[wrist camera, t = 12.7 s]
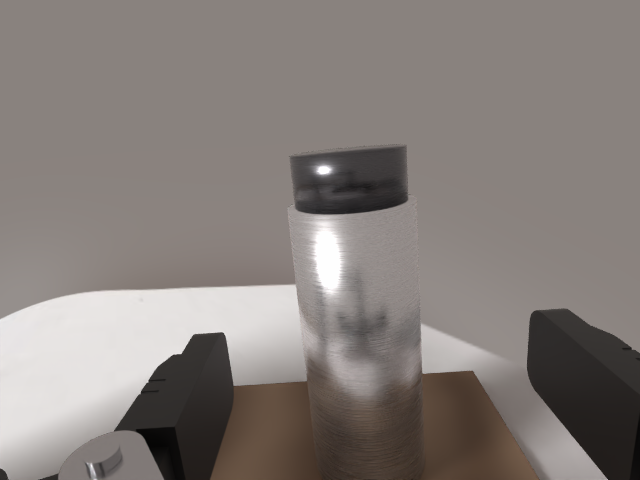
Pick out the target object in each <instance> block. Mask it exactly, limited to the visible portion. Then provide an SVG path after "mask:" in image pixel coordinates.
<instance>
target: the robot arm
mask: <svg viewBox="0 0 640 480" xmlns="http://www.w3.org/2000/svg"><path fill="white" fill-rule="evenodd" d="M527 371H528V376H529V379H530V382H531V384H532V386H533V388H534V390H535V391H536V392H537V393H538V395H539V396H540V397H541V398H542V399H543V401H544V402H545V403H546V404H547V406H548V407H549V408H550V409H551V410H552V412H553V413H554V414H555V415H556V417H557V418H558V419H559V420H560V421H561V423H562V424H563V425H564V426H565V428H566V429H567V430H568V431H569V432H570V434H571V435H572V436H573V437H574V439H575V440H576V441H577V442H578V443H579V445H580V446H581V447H582V448H583V450H584V451H585V452H586V453H587V454H588V456H589V457H590V458H591V459H592V461H593V462H594V463H595V464H596V465H597V467H598V468H599V469H600V470H601V471H602V473H603V474H604V475H605V476H606V478H607V479H608V480H640V353H639V352H637V351H636V350H632V348H631V347H630V346H628V345H627V344H625V343H624V342H623V341H621V340H620V339H618V338H617V337H616V336H614V335H612V334H610V333H607V332H605V331H603V330H600V329H597V328H595V327H593V326H590V325H589V324H587V323H586V322H585V321H583V320H582V319H581V318H579V317H578V316H576V315H575V314H574V313H572V312H571V311H570V310H568V309H551V310H536V311H534V312H533V313H532V314H531V317H530V325H529V342H528V357H527ZM233 399H234V388H233V380H232V373H231V367H230V361H229V354H228V348H227V341H226V337H225V335H224V333H222V332H220V333H206V334H194V335H193V336H192V338H191V339H190V341H189V343H188V344H187V346H186V348H185V349H184V351H183V352H182V354H177V355H172V356H171V357H170V358H169V359H167V360H166V361H165V362H163V363H162V364H161V365H159V366H158V367H157V369H156V370H155V371H154V373H153V374H152V376H151V377H150V379H149V382H148V383H146V385H145V386H144V388H143V389H142V391H141V394H139V395H138V397H137V398H136V399H135V401H134V402H133V404H132V405H131V407H130V408H129V410H128V411H127V413H126V414H125V416H124V417H123V419H122V420H121V422H120V423H119V424H118V426H117V427H116V429H115V430H114V432H111V433H107V434H104V435H101V436H99V437H97V438H95V439H93V440H91V441H89V442H87V443H85V444H84V445H82V446H81V447H80V448H78V449H77V450H76V451H75V452H73V453H72V454H71V455H70V456H69V457H68V458H67V460H66V461H65V462H64V464H63V465H62V467H61V469H60V472H59V474H56V475H53V476H50V477H46V478H43V479H40V480H210V478H211V475H212V472H213V468H214V465H215V462H216V459H217V456H218V453H219V449H220V446H221V443H222V440H223V437H224V433H225V430H226V427H227V424H228V421H229V417H230V414H231V411H232V407H233ZM0 480H8V477H7V474H6V472H5V471H4V470H2V469H0Z"/></svg>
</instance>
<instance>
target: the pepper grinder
mask: <svg viewBox="0 0 640 480" xmlns="http://www.w3.org/2000/svg"><path fill="white" fill-rule="evenodd" d="M289 157H290V166H291V174H292V183H293V193H294V202H295V203H294V204H292V205H290V206H289V207H288V209H287V210H288V218H289V227H290V236H291V244H292V253H293V262H294V269H295V279H296V288H297V296H298V305H299V314H300V322H301V331H302V340H303V348H304V357H305V366H306V374H307V383H308V392H309V400H310V409H311V418H312V426H313V435H314V444H315V452H316V461H317V467H318V471H319V473H320V475H321V477H322V478H323V480H419V479H420V477H421V475H422V473H423V470H424V465H425V452H424V420H423V388H422V357H421V325H420V295H419V264H418V232H417V199H416V197H415V196H413V195H410V194H408V178H407V151H406V145H400V144H398V145H397V144H396V145H374V146H360V147H348V148H338V149H328V150H320V151H312V152H306V153H299V154H294V155H290V156H289Z"/></svg>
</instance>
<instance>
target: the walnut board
mask: <svg viewBox="0 0 640 480" xmlns="http://www.w3.org/2000/svg"><path fill="white" fill-rule="evenodd" d="M233 388H234V399H233V407H232V411H231V414H230V417H229V421H228V424H227V427H226V430H225V433H224V437H223V440H222V443H221V446H220V449H219V453H218V456H217V459H216V462H215V465H214V468H213V472H212V475H211V478H210V480H323V478H322V477H321V475H320V473H319V471H318V467H317V461H316V452H315V444H314V435H313V426H312V418H311V409H310V400H309V392H308V383H307V381H306V382H291V383H275V384H260V385H245V386H233ZM422 388H423V420H424V452H425V465H424V470H423V473H422V475H421V477H420V479H419V480H539V478H538V476H537V475H536V473H535V472H534V470H533V468H532V467H531V465H530V463H529V462H528V460H527V458H526V457H525V455H524V454H523V452H522V450H521V449H520V447H519V445H518V444H517V442H516V441H515V439H514V437H513V436H512V434H511V432H510V431H509V429H508V428H507V426H506V424H505V423H504V421H503V419H502V418H501V416H500V414H499V413H498V411H497V410H496V408H495V406H494V405H493V403H492V401H491V400H490V398H489V397H488V395H487V393H486V392H485V390H484V388H483V387H482V385H481V384H480V382H479V380H478V379H477V377H476V375H475V374H474V372H473V371H460V372H445V373H430V374H422Z"/></svg>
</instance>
